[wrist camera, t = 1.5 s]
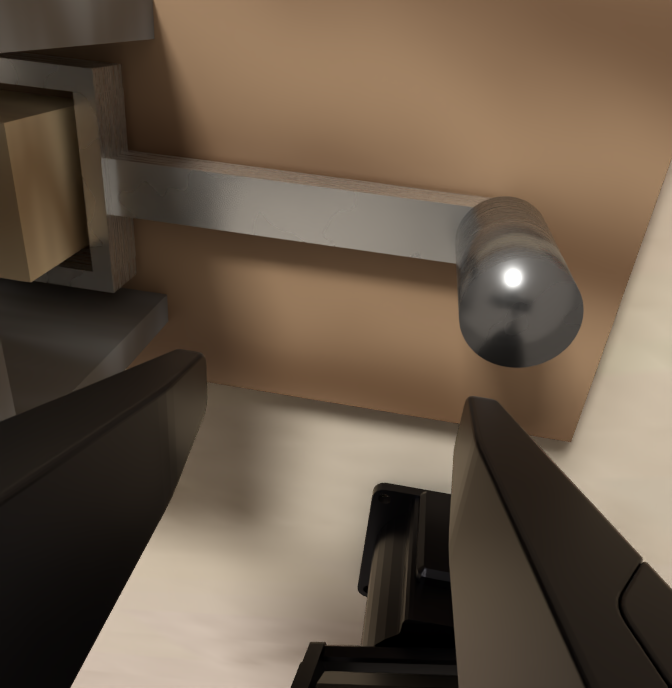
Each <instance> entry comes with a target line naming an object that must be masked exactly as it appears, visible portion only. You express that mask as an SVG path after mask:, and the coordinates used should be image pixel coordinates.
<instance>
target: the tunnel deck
mask: <svg viewBox="0 0 672 688" xmlns="http://www.w3.org/2000/svg"><path fill="white" fill-rule="evenodd" d="M7 52H23V53H32V54H40V55H48V56H57V57H65V58H74V59H82V60H91V61H99V62H108V63H116V64H122V78H123V91H124V105H125V118H126V132H127V145H128V150H131V151H139V152H146V153H154V154H161V155H169V156H177V157H184V158H192V159H199V160H207V161H215V162H222V163H230V164H238V165H245V166H253V167H260V168H268V169H276V170H283V171H291V172H298V173H306V174H314V175H321V176H329V177H336V178H344V179H352V180H359V181H367V182H374V183H382V184H390V185H397V186H405V187H412V188H420V189H428V190H435V191H443V192H450V193H458V194H466V195H473V196H481V197H489V198H494V197H501V196H509V197H516V198H519V199H522V200H525V201H527V202H529V203H530V204H532V205H533V206H534V207H535V208H536V209H537V210H538V211H539V212H540V213H541V214H542V216H543V218H544V220H545V222H546V224H547V226H548V228H549V230H550V232H551V234H552V236H553V238H554V240H555V242H556V244H557V246H558V248H559V250H560V252H561V254H562V256H563V258H564V260H565V262H566V264H567V266H568V268H569V270H570V272H571V275H572V277H573V279H574V281H575V283H576V285H577V287H578V289H579V291H580V294H581V296H582V300H583V308H584V313H583V320H582V324H581V327H580V329H579V332H578V334H577V335H576V337H575V339H574V340H573V341H572V343H571V344H570V345H569V346H568V347H567V348H566V349H565V350H564V351H563V352H562V353H560V354H559V355H558V356H556V357H554V358H553V359H551V360H549V361H547V362H545V363H542V364H539V365H535V366H531V367H524V368H511V367H504V366H499V365H496V364H493V363H491V362H488V361H486V360H485V359H483V358H481V357H480V356H479V355H477V354H476V353H475V352H474V351H473V350H472V349H471V348H470V347H469V346H468V344H467V343H466V341H465V339H464V337H463V335H462V332H461V329H460V324H459V311H458V292H457V273H456V264H455V263H448V262H441V261H434V260H427V259H420V258H413V257H405V256H398V255H391V254H384V253H377V252H370V251H363V250H356V249H349V248H342V247H335V246H328V245H321V244H314V243H307V242H300V241H293V240H286V239H279V238H271V237H264V236H257V235H250V234H243V233H236V232H229V231H222V230H215V229H208V228H201V227H194V226H187V225H180V224H173V223H166V222H159V221H152V220H145V219H137V218H133V226H134V239H135V253H136V266H137V274H136V275H135V276H133V277H132V278H131V279H130V280H129V281H127V282H126V283H125V284H124V285H123V286H122V287H120V288H119V289H118V290H117V291H116V292H115V293H110V292H103V291H97V290H90V289H84V288H77V287H71V286H64V285H58V284H51V283H45V282H38V281H32V282H24V281H18V280H11V279H5V278H0V421H2V420H5V419H7V418H10V417H12V416H15V415H17V414H19V413H22V412H24V411H27V410H29V409H32V408H34V407H37V406H39V405H41V404H44V403H46V402H49V401H51V400H54V399H56V398H59V397H61V396H63V395H66V394H68V393H71V392H73V391H76V390H78V389H81V388H83V387H85V386H88V385H90V384H93V383H95V382H98V381H100V380H103V379H105V378H107V377H110V376H112V375H115V374H117V373H120V372H122V371H125V370H126V369H129V368H132V367H134V366H137V365H139V364H142V363H144V362H147V361H149V360H151V359H154V358H156V357H159V356H161V355H164V354H166V353H169V352H171V351H173V350H176V349H183V350H190V351H196V352H201V353H203V354H204V356H205V358H206V364H207V382H210V383H217V384H223V385H229V386H235V387H241V388H247V389H253V390H259V391H265V392H271V393H277V394H283V395H289V396H295V397H301V398H307V399H313V400H319V401H325V402H332V403H338V404H344V405H350V406H356V407H362V408H368V409H374V410H380V411H386V412H392V413H398V414H404V415H410V416H416V417H422V418H428V419H434V420H441V421H447V422H453V423H459V424H460V420H461V416H462V412H463V408H464V404H465V401H466V399H467V398H468V397H469V396H476V397H483V398H489V399H494V400H496V401H498V402H499V403H500V404H501V405H502V407H503V408H504V409H505V410H506V411H507V412H508V413H509V414H510V415H511V416H512V417H513V418H514V419H515V421H516V422H517V423H518V424H519V425H520V426H521V427H522V428H523V429H524V430H525V431H526V432H527V434H528V435H531V436H537V437H543V438H550V439H556V440H562V441H568V442H571V440H572V438H573V435H574V432H575V429H576V426H577V423H578V421H579V418H580V415H581V412H582V409H583V407H584V404H585V401H586V398H587V395H588V392H589V390H590V387H591V384H592V381H593V378H594V376H595V373H596V370H597V367H598V364H599V362H600V359H601V356H602V353H603V350H604V347H605V345H606V342H607V339H608V336H609V333H610V331H611V328H612V325H613V322H614V319H615V316H616V314H617V311H618V308H619V305H620V302H621V300H622V297H623V294H624V291H625V288H626V285H627V283H628V280H629V277H630V274H631V271H632V269H633V266H634V263H635V260H636V257H637V254H638V252H639V249H640V246H641V243H642V240H643V238H644V235H645V232H646V229H647V226H648V224H649V221H650V218H651V215H652V212H653V209H654V207H655V204H656V201H657V198H658V195H659V193H660V190H661V187H662V184H663V181H664V178H665V176H666V173H667V170H668V167H669V164H670V162H671V159H672V0H0V53H7ZM0 90H6V91H14V92H22V93H30V94H38V95H46V96H54V97H62V98H70V99H73V92H72V91H64V90H55V89H47V88H39V87H31V86H23V85H15V84H7V83H0ZM84 248H85V249H90V244H89V245H87V246H86V247H84Z"/></svg>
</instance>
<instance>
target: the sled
mask: <svg viewBox="0 0 672 688" xmlns="http://www.w3.org/2000/svg"><path fill="white" fill-rule="evenodd" d="M0 83H7V84H15V85H23V86H31V87H39V88H47V89H55V90H64V91H72V92H73V100H74V109H75V118H76V127H77V136H78V145H79V154H80V162H81V171H82V180H83V189H84V198H85V207H86V216H87V225H88V234H89V242H90V249H85V248H83V249H81V250H80V251H78V252H77V253H75V254H74V255H72V256H71V257H69V258H67V259H66V260H64V261H63V262H61V263H60V264H58V265H57V266H55V267H54V268H52V269H51V270H49V271H48V272H46V273H45V274H43V275H42V276H40V277H38V278H37V279H35V280H34V281H38V282H45V283H51V284H58V285H64V286H71V287H77V288H84V289H90V290H97V291H103V292H110V293H115V292H116V291H117V290H118V289H119V288H120V287H122V286H123V285H124V284H125V283H126V282H127V281H129V280H130V279H131V278H132V277H133V276H135V275H136V274H137V266H136V253H135V239H134V226H133V218H137V219H145V220H152V221H159V222H166V223H173V224H180V225H187V226H194V227H201V228H208V229H215V230H222V231H229V232H236V233H243V234H250V235H257V236H264V237H271V238H279V239H286V240H293V241H300V242H307V243H314V244H321V245H328V246H335V247H342V248H349V249H356V250H363V251H370V252H377V253H384V254H391V255H398V256H405V257H413V258H420V259H427V260H434V261H441V262H448V263H455V264H456V273H457V292H458V311H459V324H460V329H461V332H462V335H463V337H464V339H465V341H466V343H467V344H468V346H469V347H470V348H471V349H472V350H473V351H474V352H475V353H476V354H477V355H479V356H480V357H481V358H483V359H485V360H486V361H488V362H491V363H493V364H496V365H499V366H504V367H511V368H524V367H531V366H535V365H539V364H542V363H545V362H547V361H549V360H551V359H553V358H554V357H556V356H558V355H559V354H560V353H562V352H563V351H564V350H565V349H566V348H567V347H568V346H569V345H570V344H571V343H572V341H573V340H574V339H575V337H576V335H577V334H578V332H579V329H580V327H581V324H582V320H583V313H584V308H583V300H582V296H581V294H580V291H579V289H578V287H577V285H576V283H575V281H574V279H573V277H572V275H571V272H570V270H569V268H568V266H567V264H566V262H565V260H564V258H563V256H562V254H561V252H560V250H559V248H558V246H557V244H556V242H555V240H554V238H553V236H552V234H551V232H550V230H549V228H548V226H547V224H546V222H545V220H544V218H543V216H542V214H541V213H540V212H539V211H538V210H537V209H536V208H535V207H534V206H533V205H532V204H530V203H529V202H527V201H525V200H522V199H519V198H516V197H509V196H501V197H494V198H489V197H481V196H473V195H466V194H458V193H450V192H443V191H435V190H428V189H420V188H412V187H405V186H397V185H390V184H382V183H374V182H367V181H359V180H352V179H344V178H336V177H329V176H321V175H314V174H306V173H298V172H291V171H283V170H276V169H268V168H260V167H253V166H245V165H238V164H230V163H222V162H215V161H207V160H199V159H192V158H184V157H177V156H169V155H161V154H154V153H146V152H139V151H131V150H128V145H127V132H126V118H125V105H124V91H123V78H122V64H116V63H108V62H99V61H91V60H82V59H74V58H65V57H57V56H48V55H40V54H32V53H23V52H7V53H0Z"/></svg>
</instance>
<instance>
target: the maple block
mask: <svg viewBox="0 0 672 688" xmlns="http://www.w3.org/2000/svg"><path fill="white" fill-rule="evenodd" d="M89 244H90V242H89V234H88V225H87V216H86V207H85V198H84V189H83V180H82V171H81V162H80V154H79V145H78V136H77V127H76V118H75V109H74V100H73V99H70V98H62V97H54V96H46V95H38V94H30V93H22V92H14V91H6V90H0V278H5V279H11V280H18V281H24V282H32V281H34V280H35V279H37V278H38V277H40V276H42V275H43V274H45V273H46V272H48V271H49V270H51V269H52V268H54V267H55V266H57V265H58V264H60V263H61V262H63V261H64V260H66V259H67V258H69V257H71V256H72V255H74V254H75V253H77V252H78V251H80V250H81V249H83V248H84V247H86V246H87V245H89Z"/></svg>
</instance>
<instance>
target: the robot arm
mask: <svg viewBox="0 0 672 688" xmlns="http://www.w3.org/2000/svg"><path fill="white" fill-rule="evenodd" d="M206 405H207V364H206V358H205V356H204V354H203V353H201V352H196V351H190V350H183V349H176V350H173V351H171V352H169V353H166V354H164V355H161V356H159V357H156V358H154V359H151V360H149V361H147V362H144V363H142V364H139V365H137V366H134V367H132V368H129V369H127V370H125V371H122V372H120V373H117V374H115V375H112V376H110V377H107V378H105V379H103V380H100V381H98V382H95V383H93V384H90V385H88V386H85V387H83V388H81V389H78V390H76V391H73V392H71V393H68V394H66V395H63V396H61V397H59V398H56V399H54V400H51V401H49V402H46V403H44V404H41V405H39V406H37V407H34V408H32V409H29V410H27V411H24V412H22V413H19V414H17V415H15V416H12V417H10V418H7V419H5V420H2V421H0V688H70V687H71V686H72V684H73V682H74V680H75V678H76V676H77V674H78V673H79V671H80V669H81V667H82V665H83V663H84V661H85V659H86V658H87V656H88V654H89V652H90V650H91V648H92V646H93V645H94V643H95V641H96V639H97V637H98V635H99V633H100V631H101V630H102V628H103V626H104V624H105V622H106V620H107V618H108V617H109V615H110V613H111V611H112V609H113V607H114V605H115V604H116V602H117V600H118V598H119V596H120V594H121V592H122V590H123V589H124V587H125V585H126V583H127V581H128V579H129V577H130V576H131V574H132V572H133V570H134V568H135V566H136V564H137V562H138V561H139V559H140V557H141V555H142V553H143V551H144V549H145V548H146V546H147V544H148V542H149V540H150V538H151V536H152V534H153V533H154V531H155V529H156V527H157V525H158V523H159V521H160V520H161V518H162V516H163V514H164V512H165V510H166V508H167V506H168V504H169V502H170V500H171V498H172V496H173V493H174V491H175V489H176V486H177V484H178V481H179V479H180V476H181V473H182V471H183V468H184V466H185V463H186V461H187V458H188V455H189V453H190V450H191V448H192V445H193V443H194V440H195V437H196V435H197V432H198V430H199V427H200V424H201V422H202V419H203V417H204V414H205V410H206ZM382 494H386V495H388V497H383V496H381V495H382ZM642 561H643V559H642V557H641V556H640V554H639V553H638V552H637V551H636V550H635V549H634V548H633V547H632V546H631V545H630V544H629V543H628V541H627V540H626V539H625V538H624V537H623V536H622V535H621V534H620V533H619V532H618V531H617V530H616V529H615V527H614V526H613V525H612V524H611V523H610V522H609V521H608V520H607V519H606V518H605V517H604V516H603V514H602V513H601V512H600V511H599V510H598V509H597V508H596V507H595V506H594V505H593V504H592V503H591V502H590V500H589V499H588V498H587V497H586V496H585V495H584V494H583V493H582V492H581V491H580V490H579V489H578V488H577V486H576V485H575V484H574V483H573V482H572V481H571V480H570V479H569V478H568V477H567V476H566V475H565V473H564V472H563V471H562V470H561V469H560V468H559V467H558V466H557V465H556V464H555V463H554V462H553V461H552V459H551V458H550V457H549V456H548V455H547V454H546V453H545V452H544V451H543V450H542V449H541V448H540V446H539V445H538V444H537V443H536V442H535V441H534V440H533V439H532V438H531V437H530V436H529V435H528V434H527V432H526V431H525V430H524V429H523V428H522V427H521V426H520V425H519V424H518V423H517V422H516V421H515V419H514V418H513V417H512V416H511V415H510V414H509V413H508V412H507V411H506V410H505V409H504V408H503V407H502V405H501V404H500V403H499V402H498V401H496V400H494V399H489V398H483V397H476V396H469V397H468V398H467V399H466V401H465V404H464V408H463V412H462V416H461V420H460V425H459V429H458V433H457V437H456V442H455V447H454V455H453V471H452V489H451V494H446V493H440V492H435V491H429V490H423V489H418V488H412V487H406V486H401V485H395V484H389V483H380V484H378V485H376V486H375V487H374V490H373V495H372V501H371V507H370V513H369V520H368V526H367V532H366V538H365V544H364V551H363V557H362V563H361V569H360V575H359V582H358V591H359V593H360V594H362V595H363V596H366V597H367V603H366V610H365V618H364V626H363V633H362V641H361V646H346V645H327V644H326V642H310V644H309V646H308V649H307V651H306V654H305V657H304V659H303V662H301V663H300V665H299V668H298V670H297V673H296V675H295V678H294V680H293V683H292V685H291V688H672V589H671V588H670V586H669V585H668V584H667V583H666V582H665V581H664V580H663V579H662V578H661V577H660V576H659V575H658V574H657V572H656V571H655V570H654V569H653V568H652V567H651V566H650V565H649V564H648V563H647V562H642Z"/></svg>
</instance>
